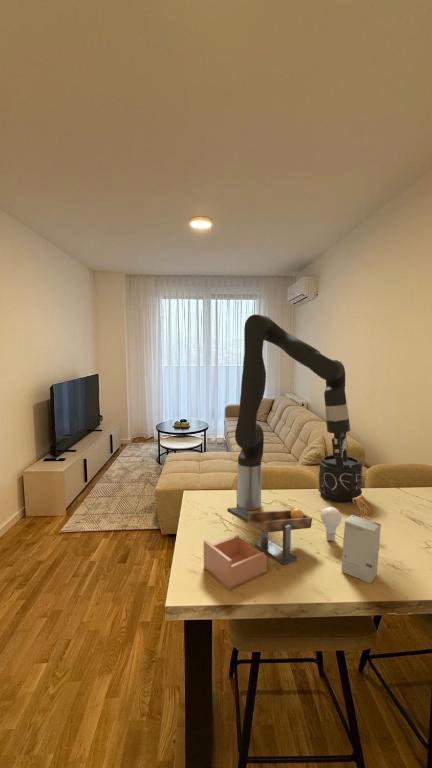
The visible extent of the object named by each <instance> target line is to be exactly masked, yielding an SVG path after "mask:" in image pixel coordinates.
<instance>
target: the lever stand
mask: <svg viewBox="0 0 432 768" xmlns="http://www.w3.org/2000/svg"><path fill="white" fill-rule="evenodd" d="M291 533H292V530H291V526H290V525H289V524H287V525H284V526H283V531H282V546H280V545H278V544H277V543H275V542H273V541H272V540H270V539H269V533H264V532H262V531H260V540H259V541H257V542H254V548H256V549H257V550H259V551H260V552H264V553H265V555H268V556H269V557H270V558H272V559H273V560H275V561H277V562H278V563H280V564H281V565H282V566H284V567H285V566H288V565H290V564H291V563H294V562H296V561H297V560H298V557H297V555H294V554H292V551H291V547H292V545H291V544H292V543H291V540H292V539H291V538H292V537H291V536H292V535H291Z"/></svg>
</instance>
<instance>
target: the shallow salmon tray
mask: <svg viewBox="0 0 432 768" xmlns="http://www.w3.org/2000/svg"><path fill="white" fill-rule="evenodd" d="M267 557H268V556H267V554H266V553H264V552H263V551H261V550H260V549H258V548H257V547H255V546H253V545H251V544H250V543H248V542H247V541H245V540H244V539H242V538H241V537H240V535H234V536H232V537H229V538H226V539H224V540H221V541H218V542H216V543H213V544H211V542H209V541H208V540H207V539H205V540H203V569H204V570H206V572H208V573H209V574H210V575H211V576H212V577H213V578H214V579H215V580H217V582H219V584H221V585H222V584H223V585H224V586H223V585H222V586H223V587H225V588H226V590H228V591H231V590H234V589H235V588H236V589H237V588H238V587H239V586H243V585H244V584H246V583H248V582H250V581H252V580H255V579H257V578H259V577H261V576H264V575H265V574H267V573H268V572H267V569H268V565H267V564H268V563H267V562H268V560H267V559H268V558H267ZM233 588H234V589H233Z"/></svg>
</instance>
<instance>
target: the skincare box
mask: <svg viewBox="0 0 432 768" xmlns="http://www.w3.org/2000/svg"><path fill="white" fill-rule="evenodd" d="M370 520H371V519H370ZM370 520H368V519H365V518H361V516H357V515H355V514H351V515H350V516H348V518H347V519H346V520H344V530H343V531H344V532H343V541H342V542H343V543H342V544H343V545H342V556H341V557H342V558H341V567H340V569H341V573H344V574H347V575H349V576H352V577H354V578H357V579H359V580H362V581H364V582H366V583H367V584H371V583H372V582H373V581H374V579H375V578H376V576H377V575H378V567H379V554H380V553H379V551H380V541H381V540H380V539H381V529H382V524H381V523H379V522H376V521H374V520H371V521H370Z"/></svg>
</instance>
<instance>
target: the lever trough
mask: <svg viewBox="0 0 432 768" xmlns="http://www.w3.org/2000/svg"><path fill="white" fill-rule="evenodd" d="M292 510H293V509H287V510H286V509H285V510H270V511H253V512H251V511H250V510H246V509H244V508H242V507H239V506H238V507H228V508H226V511H227V513H229V514H231V515H233V516H234V517H235V518H238V519H240V520H241V521H243V522H245V523H246V524H249V525H250V526H252V527H253V528H255V529H257V530H259V531H260V532H261V531H262V532H264V533H268V534H269V533H278V532H283V526H284V525H287V524H289V525H290V526H291V531H294V530H304V529H311V527H312V522H313V517H310V516H308V515H306V514H304V513H303V518H297V519H292V518H291V511H292Z"/></svg>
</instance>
